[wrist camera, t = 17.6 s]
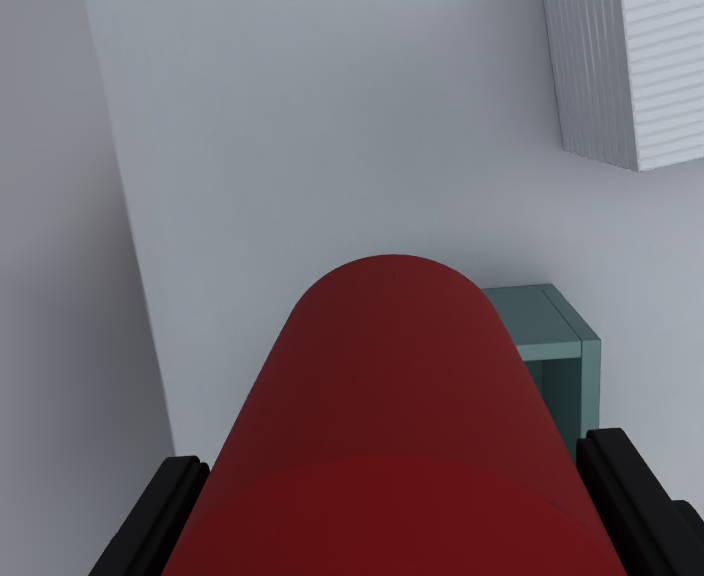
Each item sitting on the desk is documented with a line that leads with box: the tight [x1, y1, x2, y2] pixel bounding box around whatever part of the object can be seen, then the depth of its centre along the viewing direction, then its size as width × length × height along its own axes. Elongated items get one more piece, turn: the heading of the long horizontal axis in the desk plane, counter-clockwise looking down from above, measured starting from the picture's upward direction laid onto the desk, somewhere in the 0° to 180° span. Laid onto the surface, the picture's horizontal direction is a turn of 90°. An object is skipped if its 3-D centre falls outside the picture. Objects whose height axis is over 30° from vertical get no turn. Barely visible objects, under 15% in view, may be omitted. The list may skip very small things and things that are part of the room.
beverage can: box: [161, 254, 628, 576], centre depth 12 cm, size 7×7×12 cm
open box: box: [480, 284, 601, 466], centre depth 34 cm, size 15×13×9 cm
